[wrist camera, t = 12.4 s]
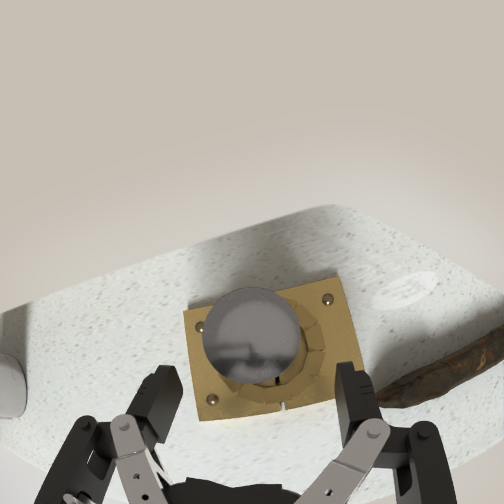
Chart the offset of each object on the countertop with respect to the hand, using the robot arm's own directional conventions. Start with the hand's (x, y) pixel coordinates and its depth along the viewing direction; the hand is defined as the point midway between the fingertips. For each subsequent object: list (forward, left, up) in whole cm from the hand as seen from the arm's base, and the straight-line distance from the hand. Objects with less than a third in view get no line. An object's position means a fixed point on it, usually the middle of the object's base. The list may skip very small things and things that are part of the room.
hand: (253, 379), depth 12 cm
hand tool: (+10, -15, -10) cm, 20 cm away
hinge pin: (+2, +1, -9) cm, 9 cm away
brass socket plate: (+2, +1, -10) cm, 10 cm away
